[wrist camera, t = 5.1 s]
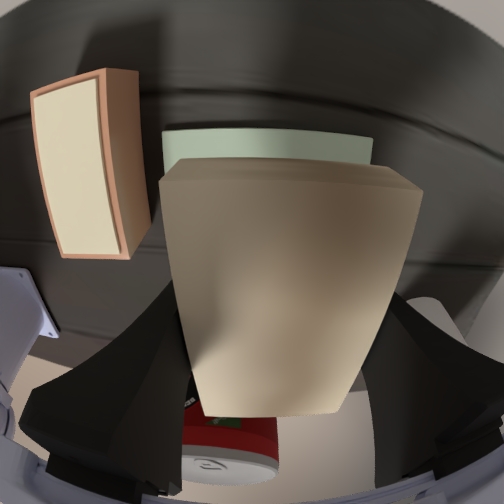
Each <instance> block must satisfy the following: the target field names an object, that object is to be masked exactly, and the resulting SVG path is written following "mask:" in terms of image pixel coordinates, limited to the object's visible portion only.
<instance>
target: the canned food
mask: <svg viewBox="0 0 504 504" xmlns="http://www.w3.org/2000/svg"><path fill="white" fill-rule="evenodd" d="M278 468H279V454H278V434H277V419H276V417H214V416H205V414H204V411H203V408H202V404H201V401H200V397H199V394H198V390H197V386H196V383H195V379H194V375H193V371H192V369H191V373H190V378H189V382H188V387H187V393H186V400H185V411H184V423H183V439H182V480H186V481H191V482H196V483H203V484H212V485H248V484H256V483H260V482H265V481H268V480H270V479H272V478H274V477H276V476H277V475H278Z"/></svg>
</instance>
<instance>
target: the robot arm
mask: <svg viewBox="0 0 504 504" xmlns="http://www.w3.org/2000/svg"><path fill="white" fill-rule="evenodd" d="M39 334H40V335H44V336H49V337H53V338H58V337H59V336H60V334H59V332H58V330H57V328H56V326H55V324H54V322H53V320H52V319H51V317H50V315H49V313H48V311H47V309H46V307H45V305H44V303H43V301H42V299H41V297H40V294H39V292H38V290H37V288H36V286H35V283H34V281H33V279H32V276H31V274H30V272H29V271H28V270H27V269H25V268H12V267H0V502H2V503H3V504H208V503H197V502H188V501H181V500H174V499H167V498H162V497H158V495H162V496H168V495H171V496H175V495H176V494H178V493H180V491H182V439H183V423H184V411H185V400H186V393H187V387H188V382H189V378H190V373H191V369H192V367H191V363H190V359H189V355H188V351H187V347H186V342H185V338H184V334H183V329H182V325H181V320H180V315H179V310H178V305H177V300H176V295H175V290H174V285H173V279H172V280H171V281H170V283H169V284H168V285H167V286H166V287H165V288H164V290H163V291H162V292H161V293H160V294H159V295H158V297H157V298H156V299H155V300H154V301H153V302H152V303H151V304H150V305H149V307H148V308H147V309H146V310H145V311H144V312H143V313H142V314H141V315H140V316H139V317H138V318H137V319H136V320H135V321H134V322H133V323H132V324H131V325H130V326H129V327H128V328H127V329H126V330H125V331H124V332H122V333H121V334H120V335H119V336H118V337H117V338H116V339H114V340H113V341H112V342H111V343H110V344H108V345H107V346H106V347H104V348H103V349H101V350H100V351H99V352H97V353H96V354H95V355H93V356H92V357H90V358H89V359H88V360H86V361H85V362H83V363H82V364H80V365H78V366H77V367H75V368H73V369H72V370H70V371H68V372H67V373H65V374H63V375H61V376H59V377H58V378H56V379H54V380H52V381H49V382H47V383H45V384H43V385H41V386H39V387H37V388H34V389H33V390H32V391H31V394H30V396H29V398H28V401H27V403H26V405H25V408H24V410H23V412H22V415H21V418H20V420H19V423H18V424H19V427H20V429H21V430H22V431H23V432H24V433H25V434H26V435H27V436H28V437H30V438H31V439H32V440H33V441H35V442H36V443H38V444H39V445H40V446H41V447H43V448H44V449H46V450H47V451H48V452H50V455H49V458H48V462H47V461H45V460H43V459H41V458H39V457H38V456H37V455H35V454H34V453H33V452H31V451H30V450H28V449H27V448H25V447H23V446H22V445H20V444H18V443H16V442H14V441H13V438H14V434H15V416H14V411H13V409H12V407H11V406H10V405H11V402H12V400H13V398H12V397H11V396H10V395H9V394H8V392H9V390H10V388H11V385H12V383H13V381H14V379H15V377H16V375H17V373H18V371H19V369H20V367H21V366H22V364H23V361H24V360H25V358H26V356H27V354H28V352H29V351H30V349H31V347H32V345H33V344H34V342H35V340H36V338H37V337H38V335H39ZM361 370H362V373H363V376H364V379H365V382H366V386H367V390H368V395H369V401H370V407H371V413H372V421H373V429H374V443H375V487H376V489H374V490H370V491H366V492H361V493H357V494H352V495H348V496H343V497H337V498H332V499H325V500H318V501H311V502H302V503H291V504H390V503H393V502H396V501H399V500H402V499H405V498H407V497H411V496H413V495H416V494H418V493H419V494H418V495H417V496H416V498H415V500H414V501H413V502H412V503H410V504H504V434H502V435H501V432H500V429H499V427H501V426H502V425H503V422H502V419H501V416H502V415H503V414H504V364H503V363H501V362H498V361H495V360H493V359H491V358H489V357H487V356H485V355H483V354H481V353H479V352H477V351H475V350H473V349H471V348H469V347H468V346H466V345H464V344H463V343H461V342H459V341H458V340H456V339H454V338H453V337H451V336H450V335H448V334H447V333H445V332H444V331H443V330H441V329H440V328H438V327H437V326H436V325H434V324H433V323H432V322H430V321H429V320H428V319H426V318H425V317H424V316H423V315H421V314H420V313H419V312H418V311H417V310H415V309H414V308H413V307H412V306H411V305H409V304H408V303H407V302H406V301H405V300H404V299H403V298H401V297H400V296H399V295H398V294H397V293H396V292H395V291H394V292H393V295H392V298H391V300H390V303H389V305H388V308H387V311H386V313H385V315H384V318H383V320H382V323H381V325H380V327H379V330H378V332H377V334H376V337H375V339H374V341H373V343H372V345H371V348H370V350H369V352H368V354H367V356H366V358H365V360H364V362H363V364H362V366H361Z"/></svg>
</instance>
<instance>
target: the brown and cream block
mask: <svg viewBox="0 0 504 504" xmlns="http://www.w3.org/2000/svg"><path fill="white" fill-rule="evenodd" d="M30 99H31V114H32V125H33V134H34V142H35V149H36V156H37V162H38V168H39V173H40V178H41V183H42V188H43V192H44V197H45V201H46V205H47V209H48V213H49V217H50V220H51V224H52V228H53V231H54V234H55V238H56V241H57V244H58V247H59V250H60V253H61V256H62V258H89V259H131V257H132V255H133V254H134V252H135V250H136V249H137V247H138V245H139V244H140V242H141V240H142V239H143V237H144V236H145V234H146V232H147V231H148V229H149V228H150V226H151V225H152V224H151V217H150V210H149V203H148V195H147V187H146V179H145V170H144V160H143V149H142V137H141V122H140V103H139V71H133V70H124V69H114V68H103V69H99V70H95V71H91V72H88V73H84V74H81V75H77V76H74V77H71V78H68V79H65V80H62V81H59V82H56V83H53V84H50V85H48V86H45V87H42V88H40V89H37V90H35V91H32V92H30Z"/></svg>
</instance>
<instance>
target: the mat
mask: <svg viewBox="0 0 504 504" xmlns="http://www.w3.org/2000/svg"><path fill="white" fill-rule="evenodd" d="M162 144H163V158H164V170H165V174H166V173H167V172H168V171H169V170H170V169H171V168H172V167H173V166H174V165H175V163H176V162H177V161H178V160H179V159H183V158H212V157H264V158H293V159H312V160H326V161H339V162H349V163H359V164H369V165H370V161H371V153H372V145H373V138H370V137H363V136H356V135H348V134H340V133H330V132H320V131H308V130H293V129H273V128H203V129H183V130H169V131H163V132H162Z"/></svg>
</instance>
